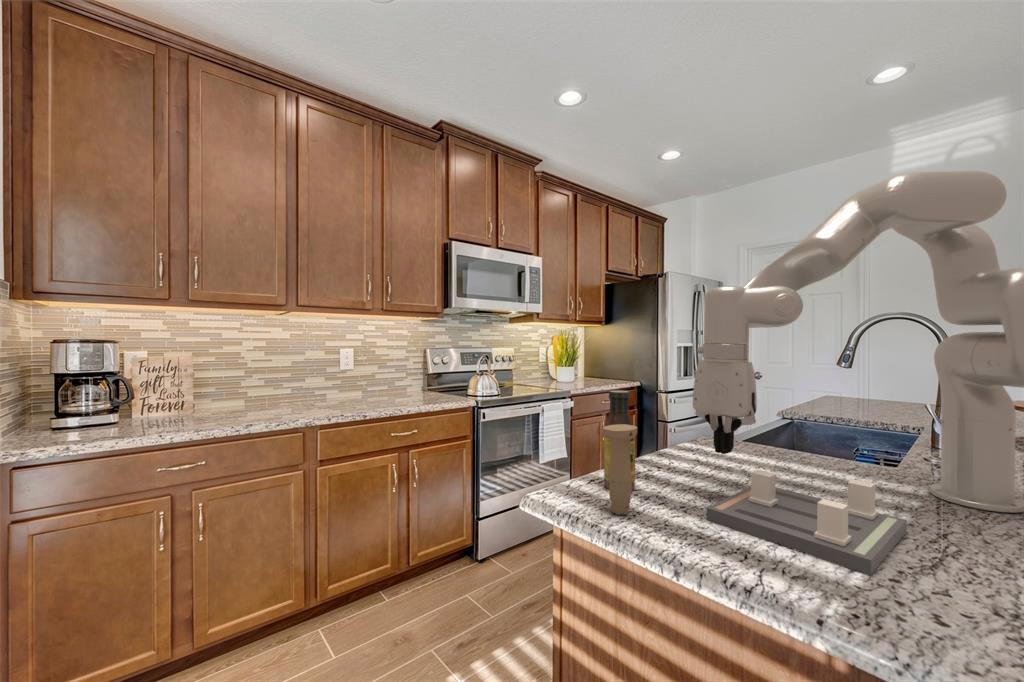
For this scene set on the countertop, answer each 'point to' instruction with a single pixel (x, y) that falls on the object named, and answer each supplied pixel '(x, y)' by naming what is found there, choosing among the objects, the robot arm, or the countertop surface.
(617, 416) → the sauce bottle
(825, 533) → the block
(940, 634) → the countertop surface
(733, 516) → the board
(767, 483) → the block
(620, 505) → the handle
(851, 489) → the block
